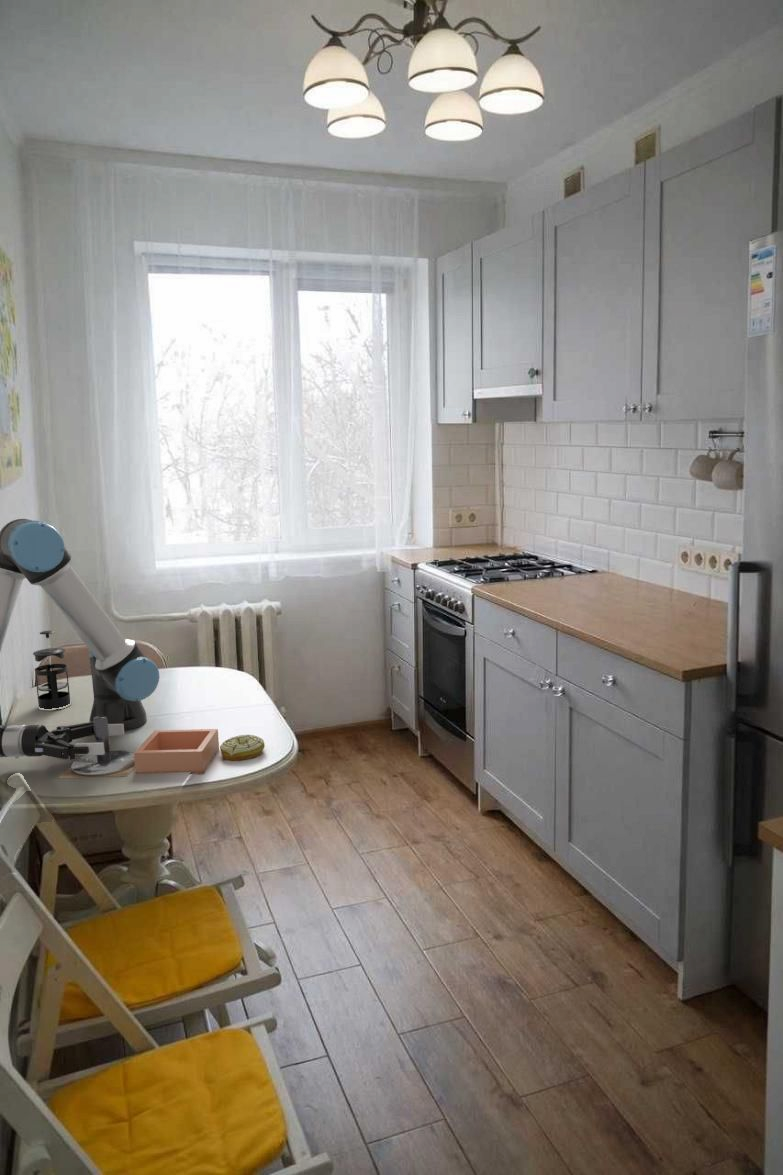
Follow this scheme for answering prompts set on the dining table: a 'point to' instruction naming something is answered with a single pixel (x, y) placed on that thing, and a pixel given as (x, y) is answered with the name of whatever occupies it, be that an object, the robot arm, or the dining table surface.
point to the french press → (51, 678)
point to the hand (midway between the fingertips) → (114, 738)
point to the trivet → (70, 774)
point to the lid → (106, 762)
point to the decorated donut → (242, 747)
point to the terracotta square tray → (177, 751)
